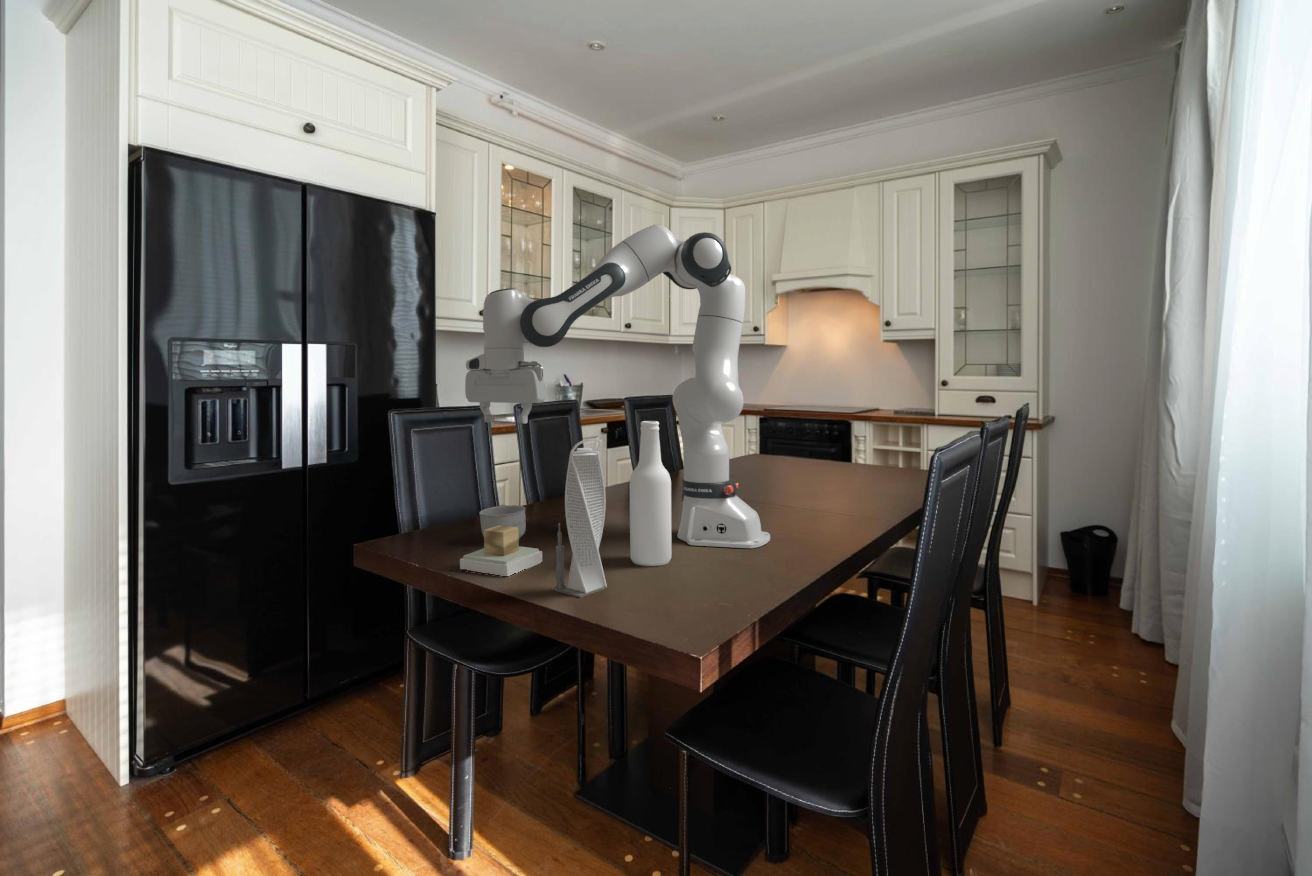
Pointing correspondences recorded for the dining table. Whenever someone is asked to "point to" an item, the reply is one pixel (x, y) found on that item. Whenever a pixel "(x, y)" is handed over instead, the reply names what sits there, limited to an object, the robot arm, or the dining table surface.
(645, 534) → the alcohol
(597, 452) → the skyscraper
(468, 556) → the stand
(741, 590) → the dining table surface
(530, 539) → the dining table surface
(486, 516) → the teacup
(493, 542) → the oak cube
